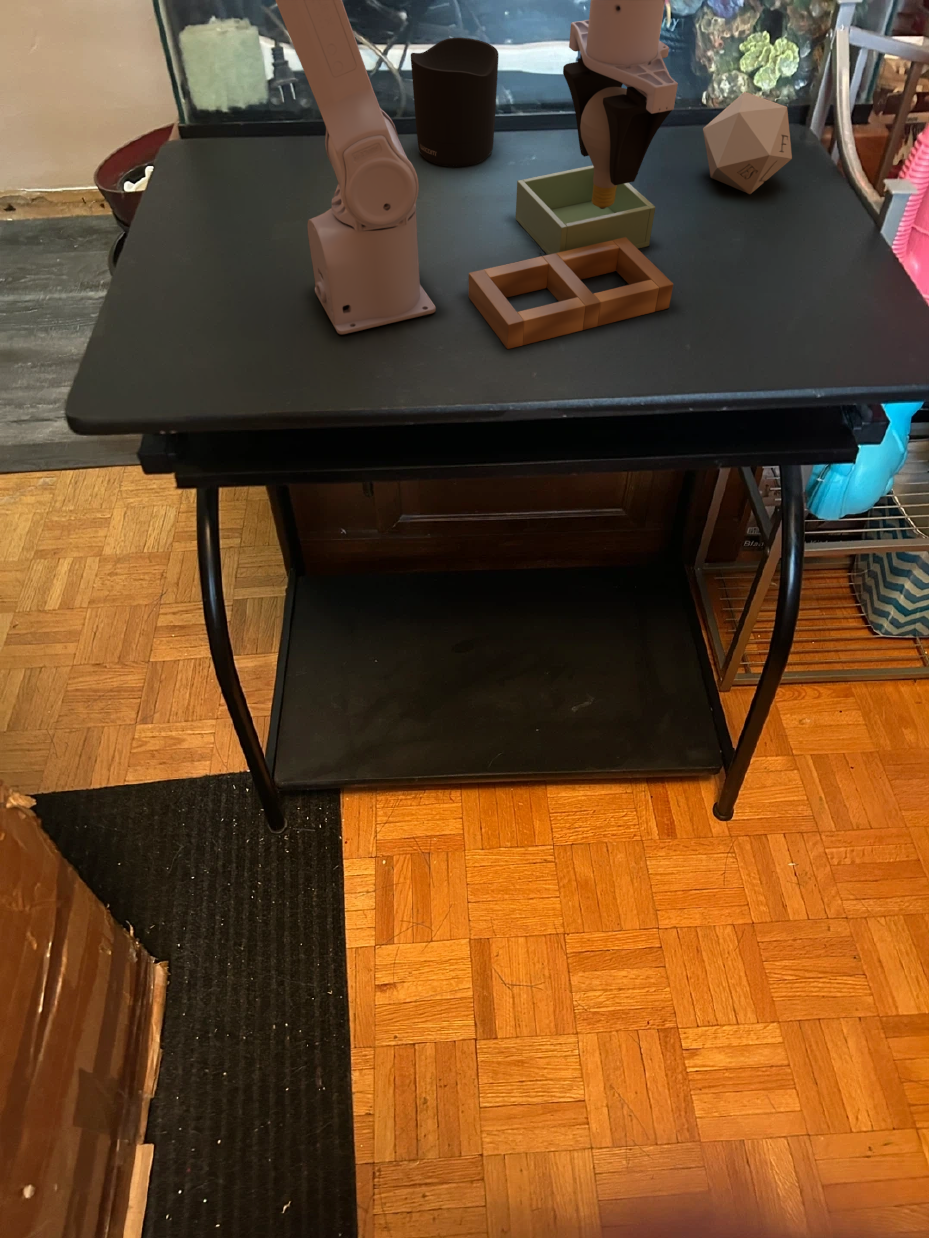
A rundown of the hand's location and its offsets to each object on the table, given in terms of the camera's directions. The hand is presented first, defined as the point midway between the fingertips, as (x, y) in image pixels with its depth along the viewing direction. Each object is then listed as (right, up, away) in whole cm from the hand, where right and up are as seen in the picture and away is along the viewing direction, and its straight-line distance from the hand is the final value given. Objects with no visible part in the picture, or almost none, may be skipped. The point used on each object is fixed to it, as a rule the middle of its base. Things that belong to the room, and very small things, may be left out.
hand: (607, 167), depth 78 cm
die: (+18, +8, +19) cm, 27 cm away
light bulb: (0, -2, +3) cm, 4 cm away
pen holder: (-14, +14, +24) cm, 31 cm away
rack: (-3, -10, +4) cm, 12 cm away
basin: (-1, 0, +12) cm, 12 cm away
